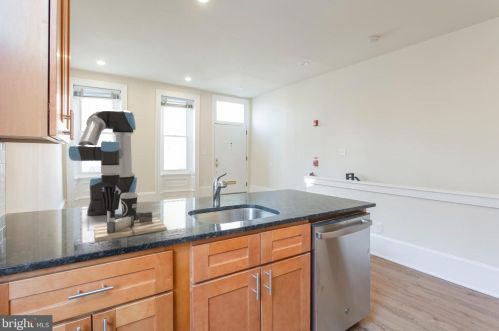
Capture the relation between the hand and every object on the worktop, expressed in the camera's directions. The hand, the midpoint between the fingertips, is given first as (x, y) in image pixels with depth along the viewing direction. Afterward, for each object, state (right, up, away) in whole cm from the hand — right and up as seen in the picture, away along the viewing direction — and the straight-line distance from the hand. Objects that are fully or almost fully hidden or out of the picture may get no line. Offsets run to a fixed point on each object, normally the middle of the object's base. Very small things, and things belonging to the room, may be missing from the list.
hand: (110, 224), depth 115 cm
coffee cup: (-4, -4, +25) cm, 26 cm away
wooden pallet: (+6, -4, +7) cm, 10 cm away
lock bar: (+3, -3, +3) cm, 5 cm away
